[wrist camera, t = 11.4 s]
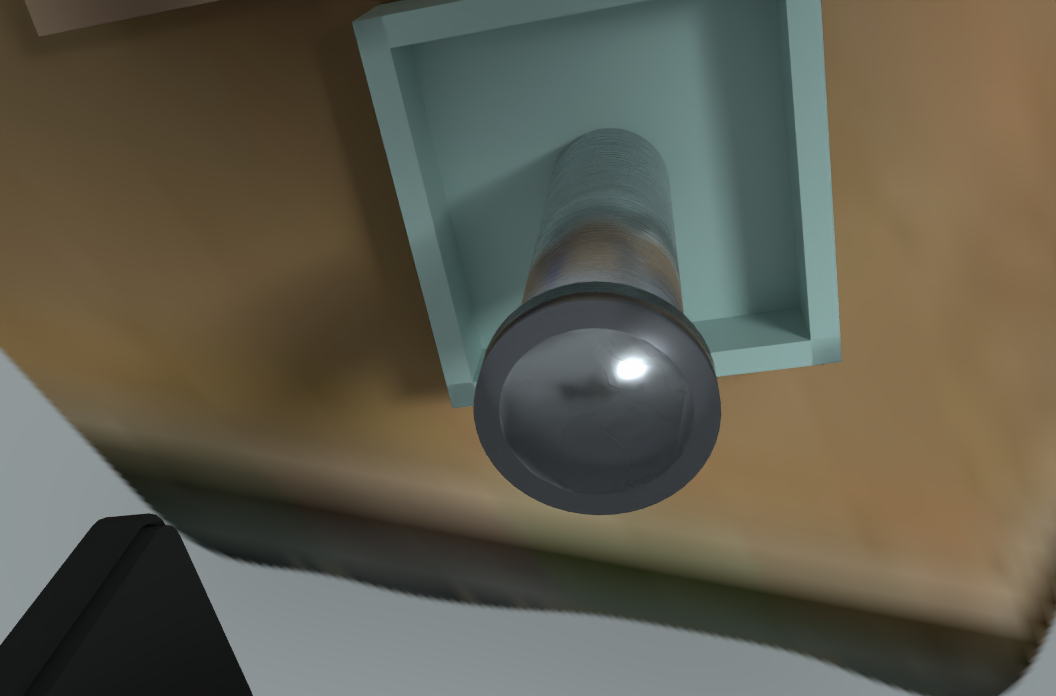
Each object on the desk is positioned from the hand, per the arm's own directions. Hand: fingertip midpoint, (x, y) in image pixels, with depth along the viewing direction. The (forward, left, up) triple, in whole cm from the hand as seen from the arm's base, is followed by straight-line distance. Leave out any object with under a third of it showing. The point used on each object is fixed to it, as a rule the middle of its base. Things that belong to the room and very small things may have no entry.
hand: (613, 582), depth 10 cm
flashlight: (+1, +1, -16) cm, 16 cm away
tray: (0, +1, -17) cm, 17 cm away
